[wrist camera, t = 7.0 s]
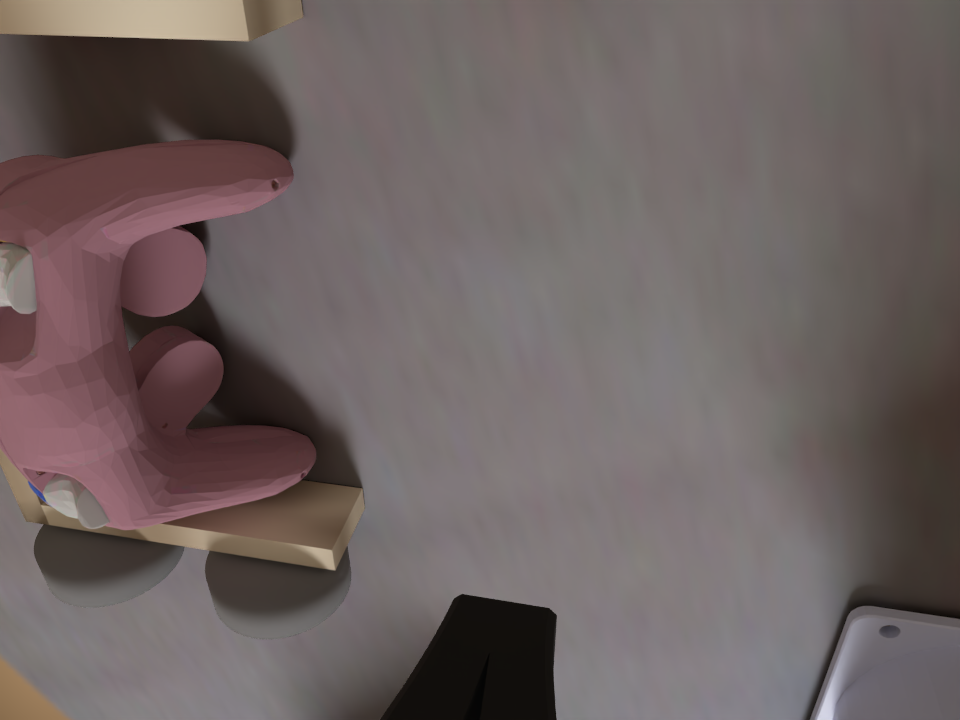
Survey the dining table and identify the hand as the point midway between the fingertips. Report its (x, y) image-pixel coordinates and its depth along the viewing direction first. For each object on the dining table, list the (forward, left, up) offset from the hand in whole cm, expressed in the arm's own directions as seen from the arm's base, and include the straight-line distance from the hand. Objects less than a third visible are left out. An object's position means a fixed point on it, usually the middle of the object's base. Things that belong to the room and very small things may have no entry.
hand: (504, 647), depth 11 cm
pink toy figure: (+10, +1, -10) cm, 14 cm away
